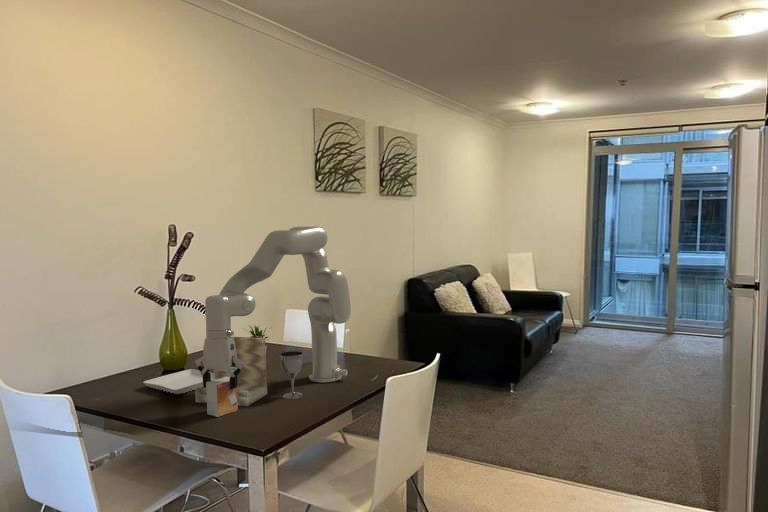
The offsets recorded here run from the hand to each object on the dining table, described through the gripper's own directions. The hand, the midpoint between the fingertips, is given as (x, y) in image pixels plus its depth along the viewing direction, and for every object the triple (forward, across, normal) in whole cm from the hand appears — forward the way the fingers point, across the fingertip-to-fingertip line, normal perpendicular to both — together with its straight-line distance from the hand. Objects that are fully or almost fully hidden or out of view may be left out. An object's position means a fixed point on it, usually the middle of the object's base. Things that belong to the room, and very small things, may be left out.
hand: (220, 387), depth 176 cm
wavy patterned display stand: (+8, +5, -14) cm, 16 cm away
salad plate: (+9, +31, -23) cm, 39 cm away
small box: (+8, 0, -1) cm, 9 cm away
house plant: (+7, +24, -64) cm, 68 cm away
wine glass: (+8, -15, -21) cm, 27 cm away
